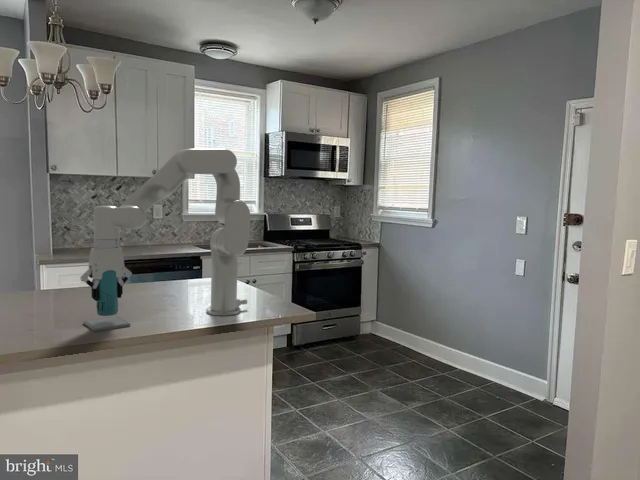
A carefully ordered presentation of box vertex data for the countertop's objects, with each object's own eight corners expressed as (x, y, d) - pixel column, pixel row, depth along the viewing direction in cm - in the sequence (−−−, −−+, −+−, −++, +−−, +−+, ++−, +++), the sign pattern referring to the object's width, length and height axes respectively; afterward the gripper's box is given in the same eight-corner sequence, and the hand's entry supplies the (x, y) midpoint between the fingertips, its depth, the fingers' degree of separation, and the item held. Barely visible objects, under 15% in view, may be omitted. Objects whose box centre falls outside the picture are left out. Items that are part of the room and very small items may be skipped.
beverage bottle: (121, 315, 157) (121, 256, 155) (113, 321, 150) (112, 259, 148) (101, 314, 157) (101, 255, 154) (92, 320, 150) (91, 258, 148)
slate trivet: (117, 318, 161) (117, 316, 161) (130, 326, 153) (130, 323, 153) (83, 323, 154) (83, 321, 154) (95, 332, 146) (95, 329, 146)
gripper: (129, 241, 159) (129, 293, 161) (74, 244, 147) (74, 299, 149) (138, 244, 154) (138, 297, 156) (81, 247, 142) (82, 304, 144)
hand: (107, 298), depth 153 cm, fingers closed on beverage bottle, 6 cm apart
